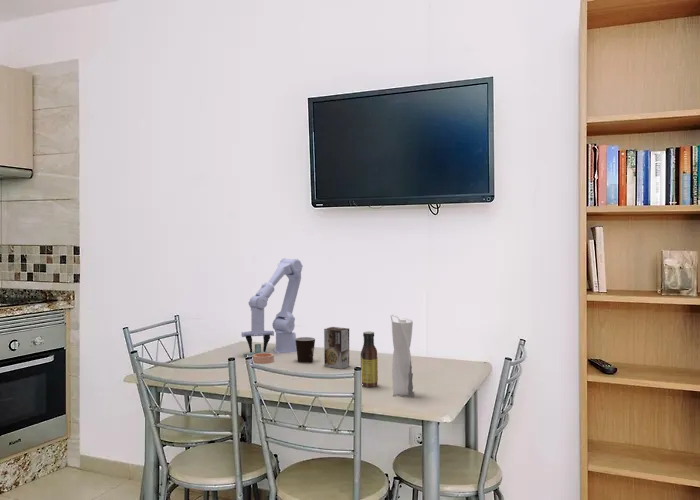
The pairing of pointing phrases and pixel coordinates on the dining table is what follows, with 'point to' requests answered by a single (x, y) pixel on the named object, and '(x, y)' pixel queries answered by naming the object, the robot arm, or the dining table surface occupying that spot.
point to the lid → (256, 350)
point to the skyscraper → (402, 358)
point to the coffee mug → (305, 349)
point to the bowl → (263, 358)
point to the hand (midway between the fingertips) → (257, 351)
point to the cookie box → (336, 347)
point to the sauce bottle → (369, 361)
